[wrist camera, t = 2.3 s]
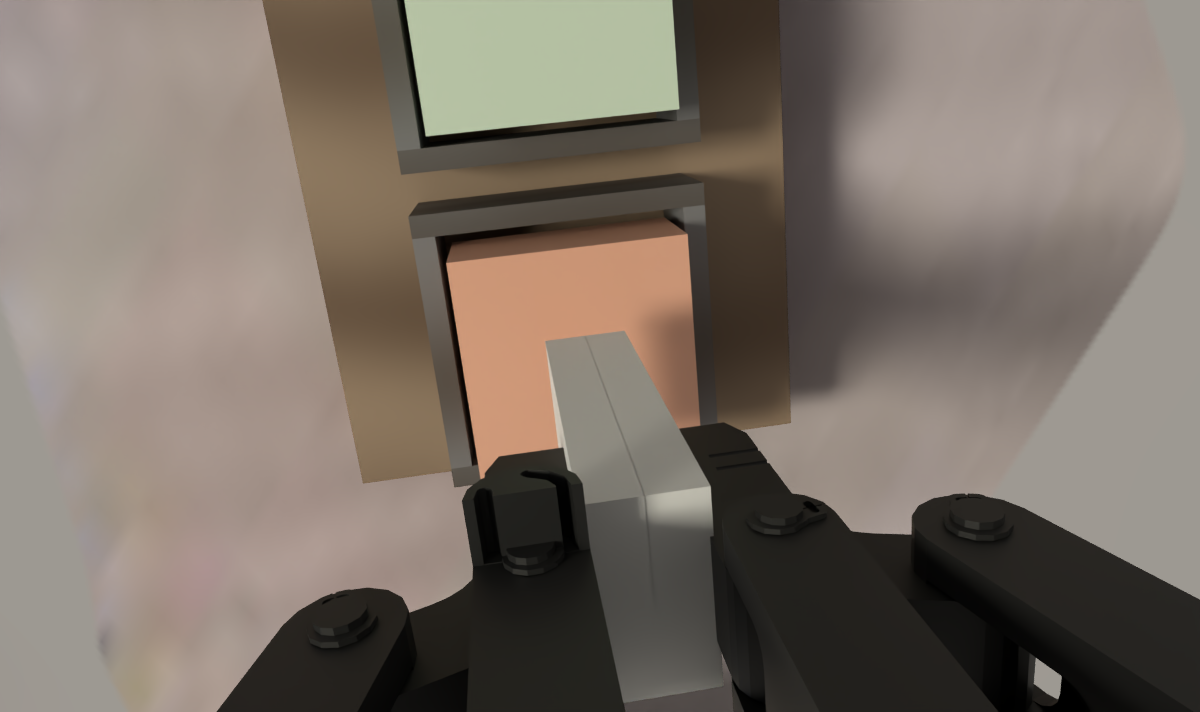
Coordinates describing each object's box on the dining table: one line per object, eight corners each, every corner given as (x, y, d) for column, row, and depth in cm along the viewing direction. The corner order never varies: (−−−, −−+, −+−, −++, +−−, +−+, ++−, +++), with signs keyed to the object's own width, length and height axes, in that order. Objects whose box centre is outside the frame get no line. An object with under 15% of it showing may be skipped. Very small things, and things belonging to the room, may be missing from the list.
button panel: (179, -533, 18) (64, -763, 13) (726, -554, 19) (804, -775, 14) (375, 446, 25) (347, 529, 20) (763, 392, 26) (824, 459, 21)
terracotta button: (452, 242, 19) (446, 262, 17) (664, 217, 20) (687, 234, 17) (483, 439, 21) (481, 484, 18) (678, 412, 21) (701, 453, 19)
